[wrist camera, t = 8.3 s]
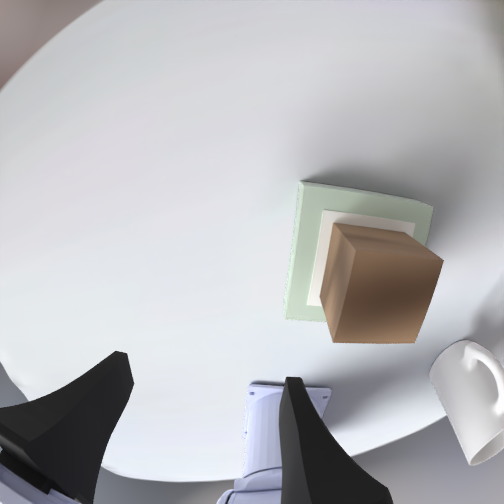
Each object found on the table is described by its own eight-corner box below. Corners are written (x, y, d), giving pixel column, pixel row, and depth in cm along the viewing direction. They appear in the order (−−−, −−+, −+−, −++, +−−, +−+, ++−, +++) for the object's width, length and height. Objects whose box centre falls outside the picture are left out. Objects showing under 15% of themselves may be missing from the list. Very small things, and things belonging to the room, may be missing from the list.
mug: (472, 370, 24) (516, 440, 13) (425, 393, 25) (461, 474, 14) (481, 302, 21) (551, 375, 10) (427, 328, 22) (489, 422, 11)
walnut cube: (386, 301, 18) (414, 343, 14) (319, 296, 19) (332, 342, 14) (404, 232, 17) (443, 260, 12) (332, 222, 17) (355, 250, 12)
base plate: (390, 308, 21) (401, 325, 19) (283, 301, 22) (285, 320, 19) (417, 200, 18) (434, 207, 16) (299, 181, 19) (304, 185, 16)
